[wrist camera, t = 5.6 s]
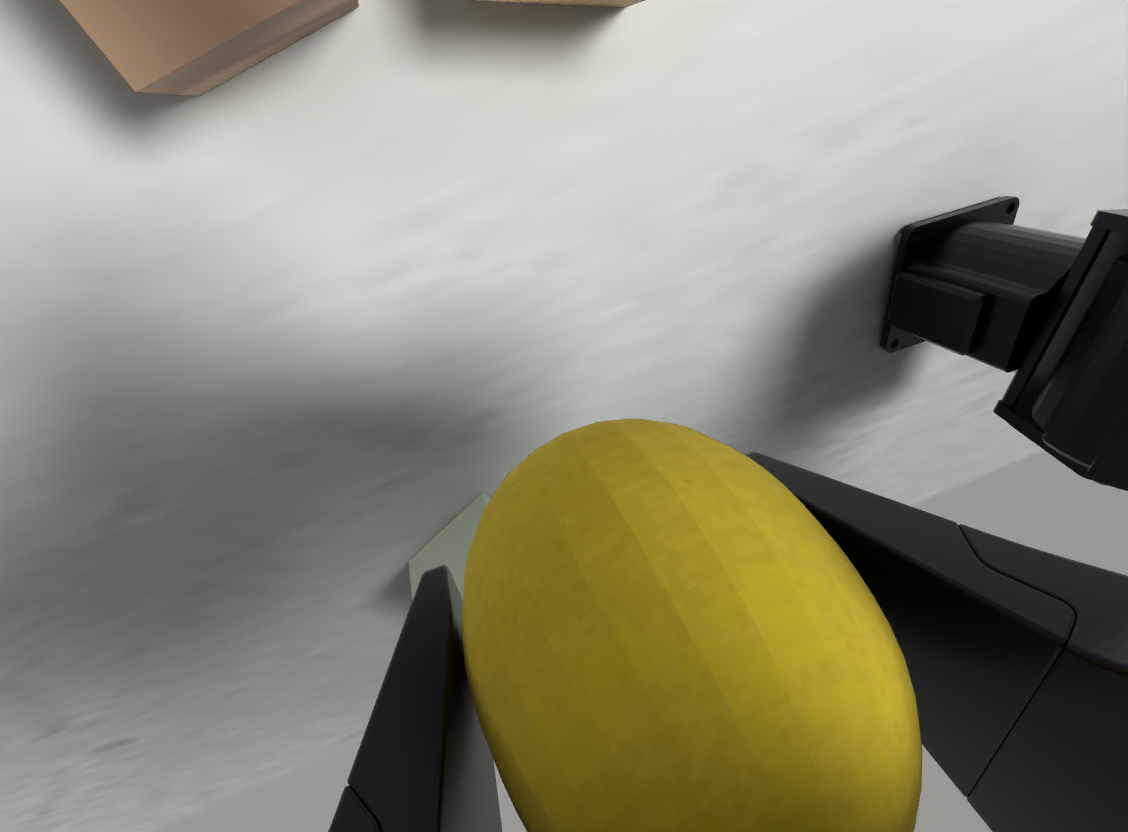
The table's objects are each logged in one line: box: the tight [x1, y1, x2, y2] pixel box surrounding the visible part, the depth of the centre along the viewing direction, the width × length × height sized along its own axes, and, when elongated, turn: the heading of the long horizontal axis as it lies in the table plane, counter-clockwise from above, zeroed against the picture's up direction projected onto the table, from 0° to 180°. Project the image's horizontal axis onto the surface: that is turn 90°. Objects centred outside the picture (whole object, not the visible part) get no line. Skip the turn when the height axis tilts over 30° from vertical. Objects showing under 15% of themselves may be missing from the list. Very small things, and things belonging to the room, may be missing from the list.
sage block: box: [409, 492, 491, 601], centre depth 24 cm, size 5×5×5 cm
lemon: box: [462, 419, 922, 832], centre depth 8 cm, size 6×6×8 cm
